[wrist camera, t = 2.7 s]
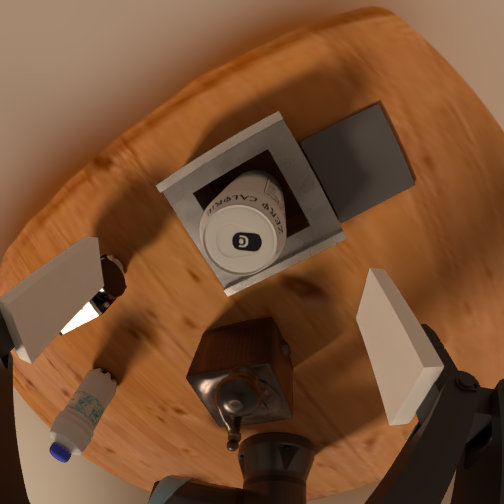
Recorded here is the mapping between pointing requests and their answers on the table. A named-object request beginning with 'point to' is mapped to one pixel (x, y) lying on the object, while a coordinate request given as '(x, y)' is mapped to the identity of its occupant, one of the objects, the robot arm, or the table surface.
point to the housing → (295, 173)
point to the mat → (358, 162)
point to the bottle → (81, 415)
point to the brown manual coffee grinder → (243, 375)
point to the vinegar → (154, 488)
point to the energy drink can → (245, 224)
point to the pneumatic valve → (101, 293)
